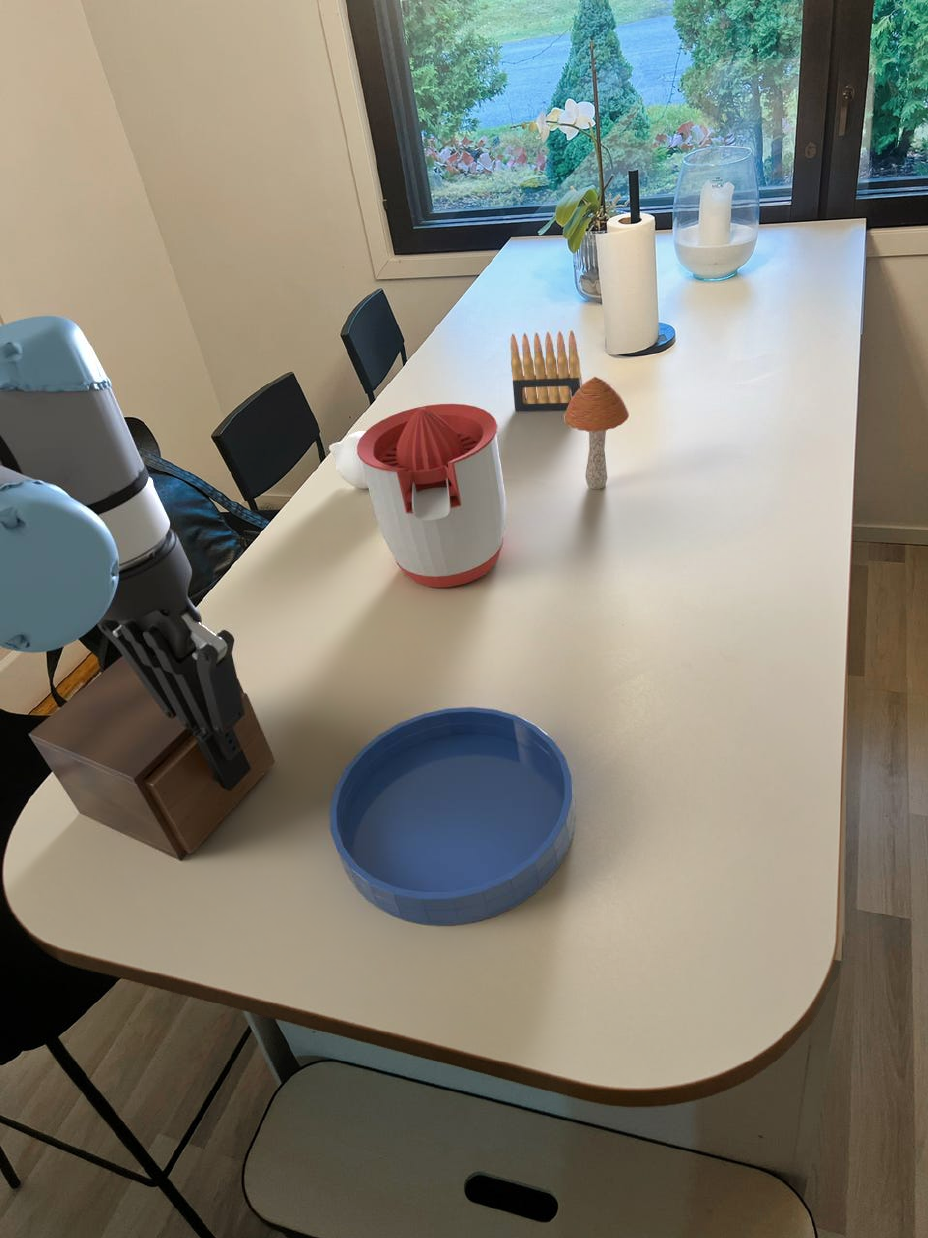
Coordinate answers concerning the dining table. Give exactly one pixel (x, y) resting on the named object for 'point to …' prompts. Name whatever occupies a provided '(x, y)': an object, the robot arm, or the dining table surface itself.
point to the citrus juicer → (437, 491)
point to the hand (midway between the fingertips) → (236, 778)
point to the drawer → (206, 783)
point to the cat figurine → (350, 460)
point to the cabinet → (113, 754)
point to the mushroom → (596, 423)
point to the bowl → (454, 815)
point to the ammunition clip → (550, 383)
